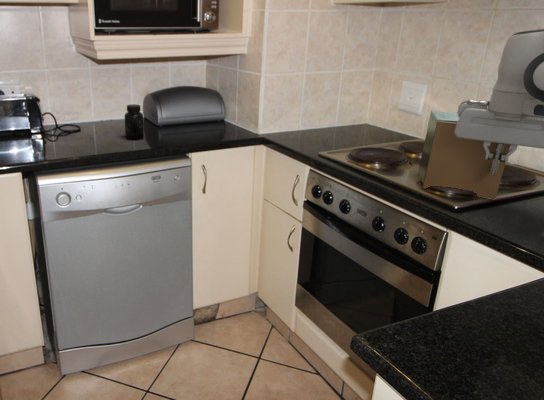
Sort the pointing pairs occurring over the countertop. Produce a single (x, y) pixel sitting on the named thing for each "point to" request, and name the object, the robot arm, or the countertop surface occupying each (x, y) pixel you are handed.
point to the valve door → (464, 163)
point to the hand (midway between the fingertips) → (495, 160)
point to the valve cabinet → (430, 134)
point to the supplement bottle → (134, 123)
